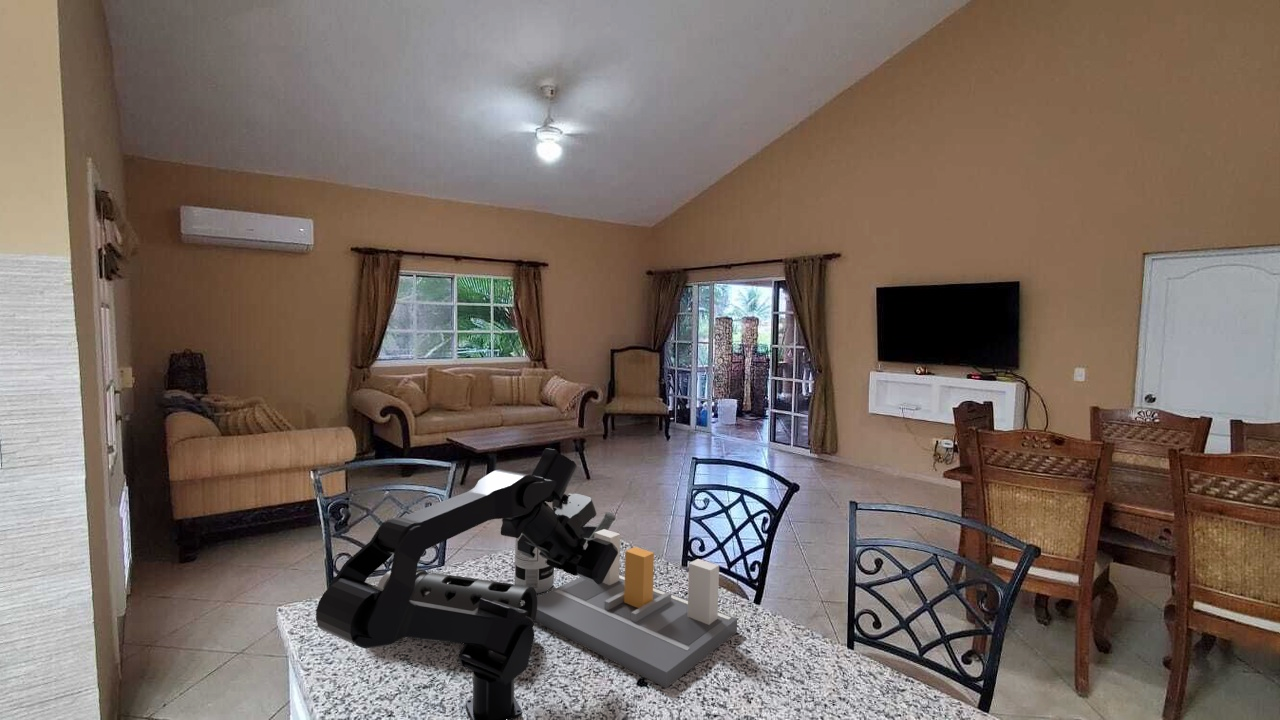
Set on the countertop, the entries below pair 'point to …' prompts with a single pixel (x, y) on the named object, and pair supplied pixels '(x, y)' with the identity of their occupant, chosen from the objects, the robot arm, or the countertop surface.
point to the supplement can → (533, 570)
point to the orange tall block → (638, 577)
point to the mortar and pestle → (603, 524)
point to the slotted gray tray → (641, 620)
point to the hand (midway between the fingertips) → (589, 572)
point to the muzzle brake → (467, 592)
